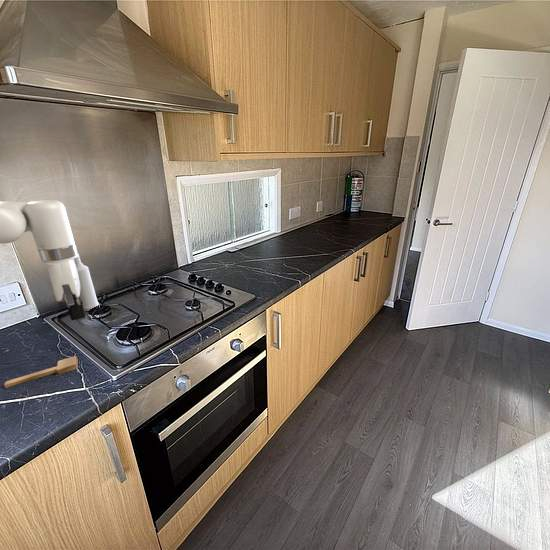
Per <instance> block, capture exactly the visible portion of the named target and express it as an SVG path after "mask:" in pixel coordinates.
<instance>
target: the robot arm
mask: <svg viewBox="0 0 550 550" xmlns="http://www.w3.org/2000/svg"><path fill="white" fill-rule="evenodd" d="M26 232H31V234H32V237H33V240H34V243H35V247H36V249H37V252H38V255H39V259H40V261H41V263H42V264H46V266H47V271H48V276H49V280H50V284H51V288H52V290H53V295H54V298H55V301H56V302H58V303H60V302H61V301H63V298H64V301H65V304H66V307H67V311H68V314H69V318H70V320H71V321H76V320H80V319H84V318H86V311H85V310H84V308H83V306H84V305H83V302H82V299H81V297H80V281H79V276H78V272H77V268H76V265H75V261H74V259H75V258H76V257H78V254H79V251H78V252H77V250H78V248H77V249H76V247H77V245H76V242H75V237H74V235H73V231H72V228H71V224H70V220H69V216H68V213H67V210H66V206H65V204H64V203H63V202H62V201H60V200H57V199H42V200H33V201H0V244H1V245H3V244H5V245H6V244H11V243H15V242H16V241H18V240H19V239H20V238H21V237H22V236H23V235H24V233H26Z"/></svg>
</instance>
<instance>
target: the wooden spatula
mask: <svg viewBox="0 0 550 550" xmlns="http://www.w3.org/2000/svg"><path fill="white" fill-rule="evenodd" d="M78 365H79V359H78V356H77V355H74V356H70V357H67V358H64V359H61V360H58V361H57V365H56V366H53V367H48V368H46V369H42V370H39V371H36V372H32V373H29V374H25V375H22V376H19V377H16V378H13V379H9V380H6V381H5V382H4V384H3V386H4V387H5V389H7V388H11V387H14V386H17V385H21V384H24V383H26V382H31V381H33V380H36V379H40V378H43V377H47V376H50V375H52V374H57V375H58V376H59V375H62V374H66V373H68V372H72V371H75V370H78Z"/></svg>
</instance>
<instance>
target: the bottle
mask: <svg viewBox="0 0 550 550" xmlns="http://www.w3.org/2000/svg"><path fill="white" fill-rule="evenodd" d="M76 249H77V252H78V257H76V258H75V259H74V261H75V265H76V268H77V272H78V276H79V281H80V300H81V302H82V304H83V308H84V311H85V312H86V311H89V310H90V309H92V308H94V307H96V306H98V305H99V306H100V302H98V298H97V295H96V291H95V287H94V284H93V280H92V277H91V271H90V268H89V266H87V265H85V264H84V263H83V262H82V261H81V257H80V254H79V251H78V248H77V246H76Z"/></svg>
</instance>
